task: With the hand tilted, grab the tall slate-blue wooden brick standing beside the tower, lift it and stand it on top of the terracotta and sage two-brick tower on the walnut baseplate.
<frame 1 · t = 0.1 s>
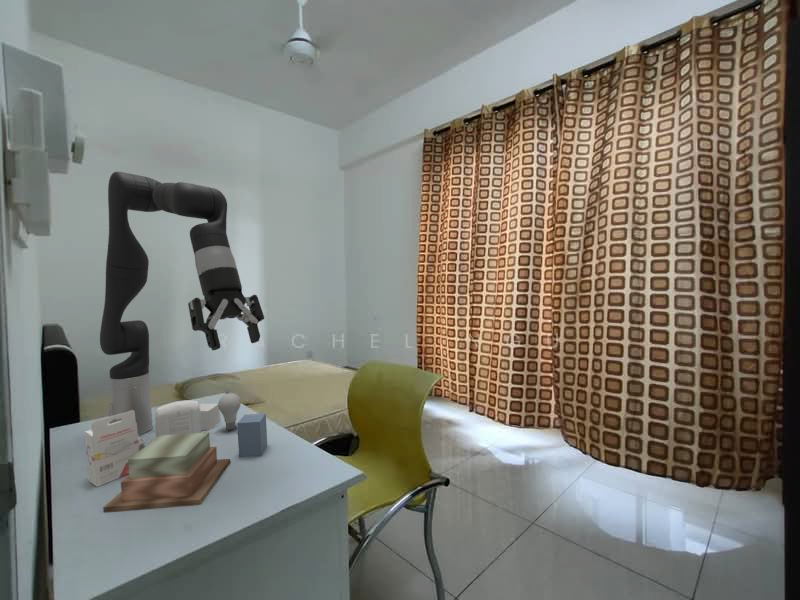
hand: (236, 345, 72), 31 cm above the table, tool tilted 20°, fingers open, 8 cm apart
lightbulb: (231, 430, 105), on the table
ink cartridge box: (115, 476, 82), on the table
tower: (174, 484, 77), on the table
game die: (137, 450, 94), on the table
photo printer: (180, 447, 95), on the table
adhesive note: (205, 426, 108), on the table
slate brick: (253, 451, 92), on the table
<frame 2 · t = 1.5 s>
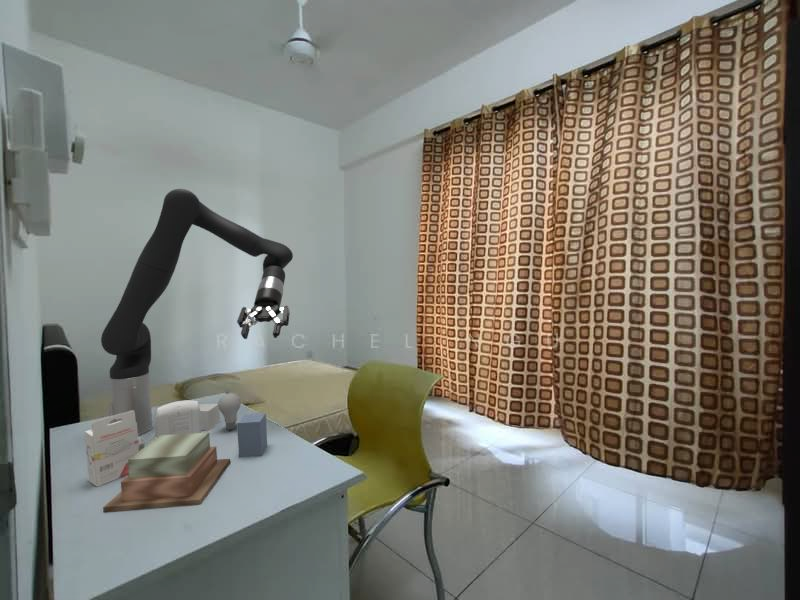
hand: (259, 336, 100), 28 cm above the table, tool tilted 45°, fingers open, 8 cm apart
nothing on the table moved.
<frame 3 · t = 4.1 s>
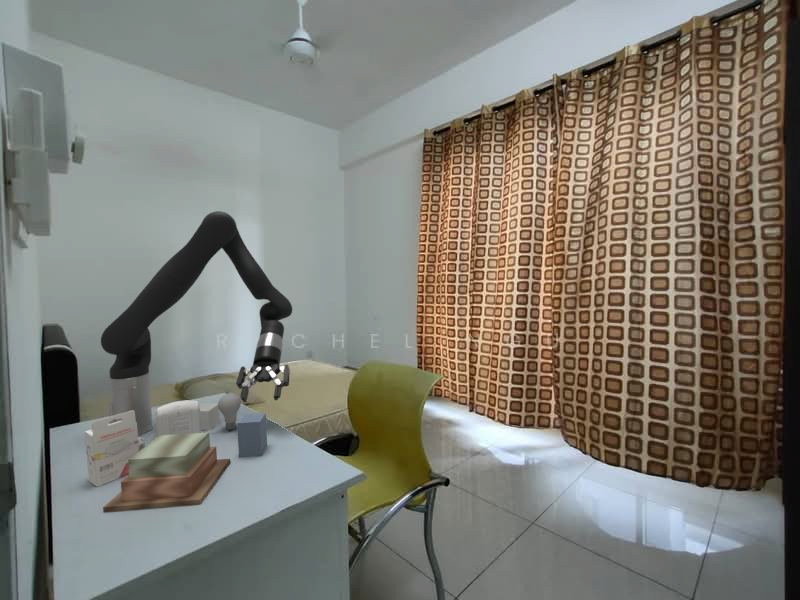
hand: (260, 400, 98), 11 cm above the table, tool tilted 45°, fingers open, 8 cm apart
nothing on the table moved.
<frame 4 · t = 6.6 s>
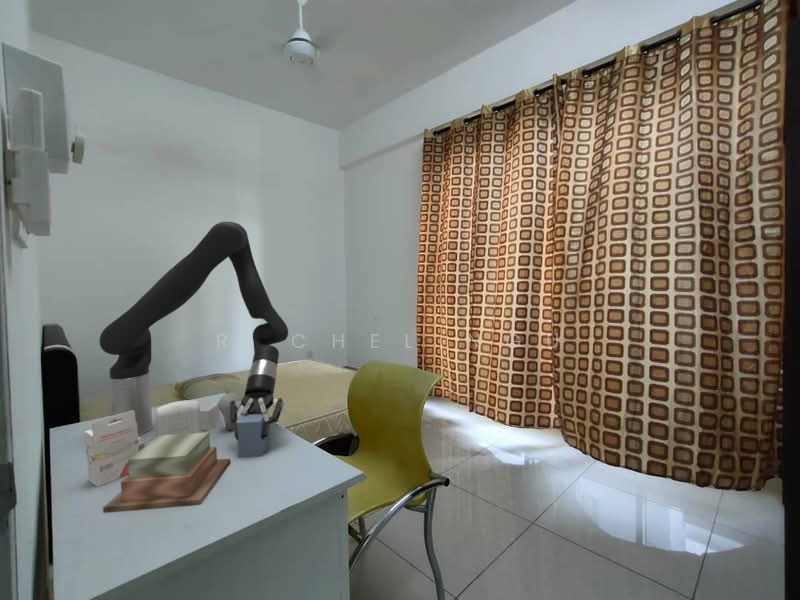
hand: (250, 438, 89), 4 cm above the table, tool tilted 45°, fingers closed on slate brick, 5 cm apart
slate brick: (253, 451, 92), on the table, touching gripper
everything else where it was.
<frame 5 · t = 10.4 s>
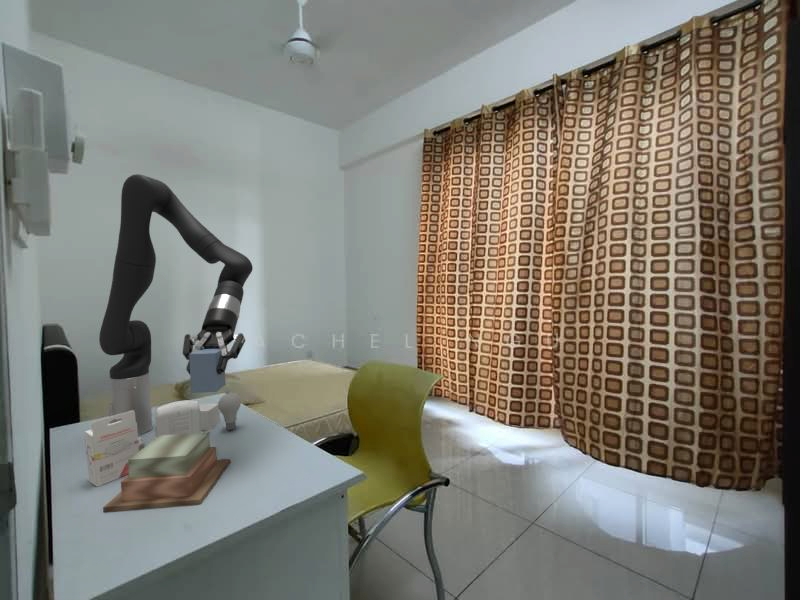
hand: (204, 372, 81), 24 cm above the table, tool tilted 45°, fingers closed on slate brick, 5 cm apart
slate brick: (208, 388, 83), point 19 cm above the table, touching gripper
everything else where it was.
when the fingers open (14 cm above the table, at t = 14.4 s): slate brick stays where it is, resting on tower.
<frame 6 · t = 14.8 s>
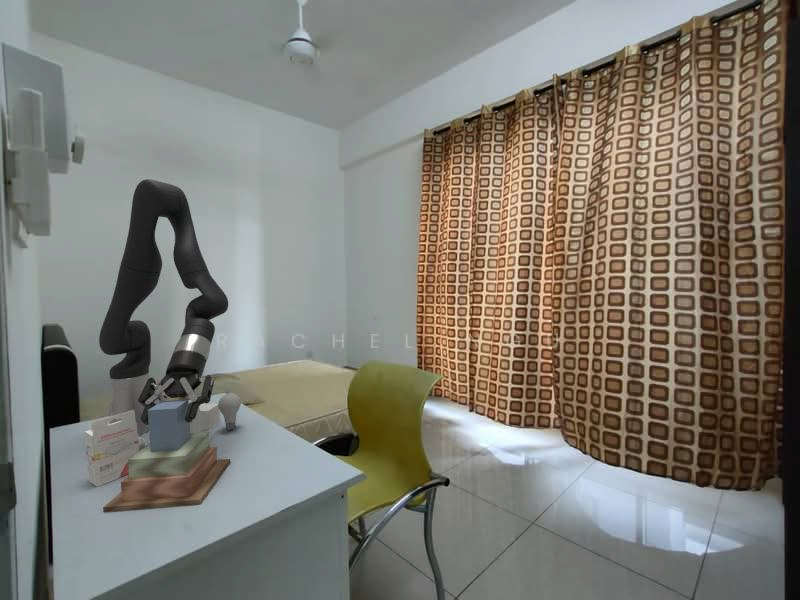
hand: (166, 422, 75), 15 cm above the table, tool tilted 45°, fingers open, 8 cm apart
slate brick: (171, 444, 77), point 9 cm above the table, touching tower
everything else where it was.
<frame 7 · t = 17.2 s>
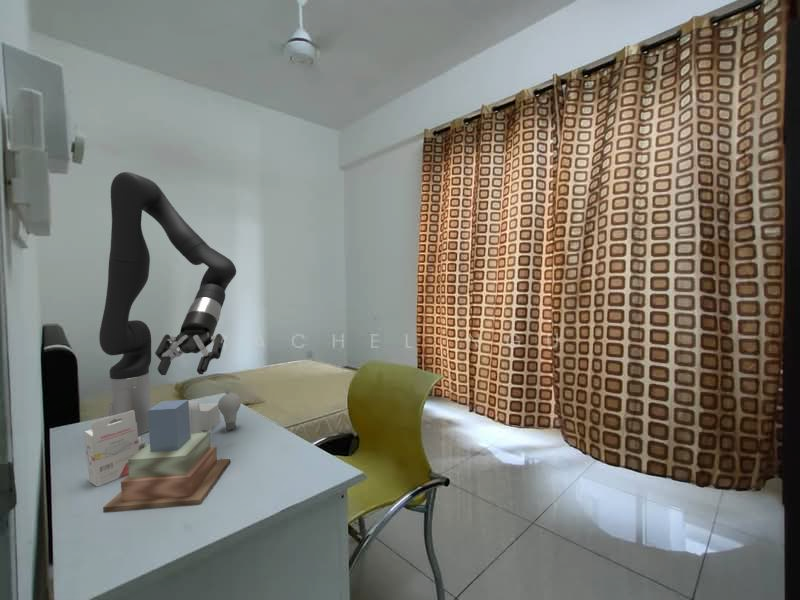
hand: (180, 373, 82), 23 cm above the table, tool tilted 45°, fingers open, 8 cm apart
nothing on the table moved.
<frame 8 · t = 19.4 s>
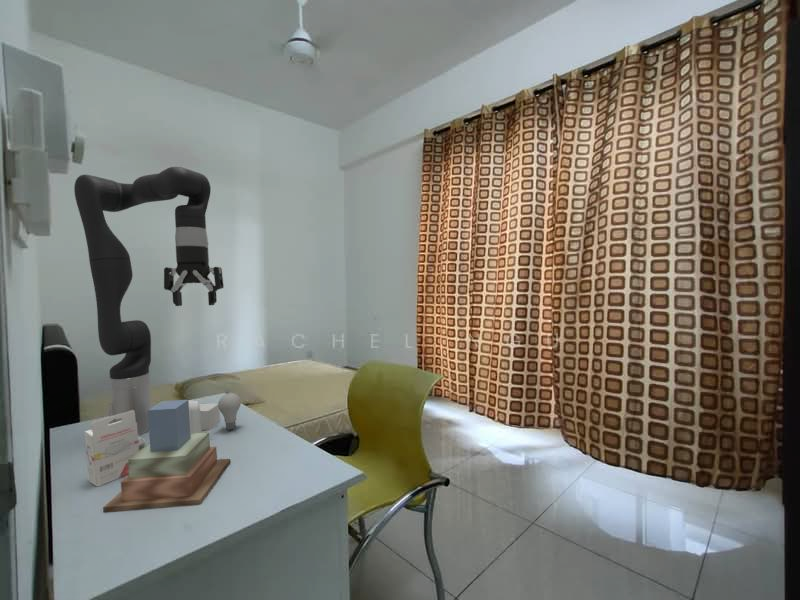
hand: (195, 305, 95), 38 cm above the table, tool pointing down, fingers open, 8 cm apart
nothing on the table moved.
at the end: slate brick 0.1 cm off-centre on the tower, point 9.0 cm above the tower's base; slate brick tilted 0°; the gripper is holding nothing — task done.
